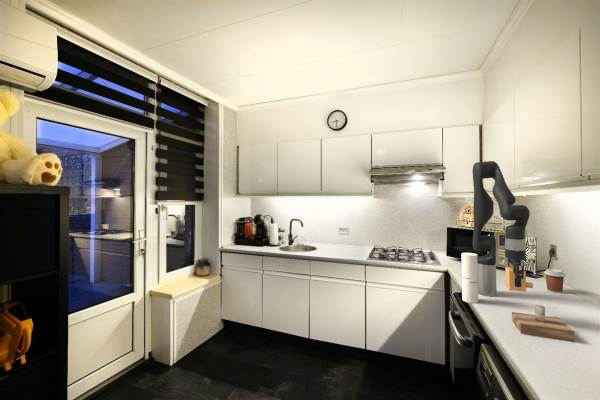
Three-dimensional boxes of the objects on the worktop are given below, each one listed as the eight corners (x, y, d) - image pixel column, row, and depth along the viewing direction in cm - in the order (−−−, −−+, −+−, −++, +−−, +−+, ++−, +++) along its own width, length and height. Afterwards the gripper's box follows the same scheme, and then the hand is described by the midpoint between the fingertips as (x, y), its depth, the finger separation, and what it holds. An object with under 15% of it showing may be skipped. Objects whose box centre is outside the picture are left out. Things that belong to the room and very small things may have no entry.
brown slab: (511, 320, 118) (511, 298, 118) (559, 327, 111) (558, 303, 111) (521, 333, 107) (520, 309, 107) (574, 341, 100) (573, 315, 100)
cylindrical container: (463, 297, 147) (462, 252, 146) (478, 300, 142) (478, 253, 142) (461, 301, 141) (460, 254, 141) (477, 304, 136) (476, 256, 136)
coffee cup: (570, 294, 147) (570, 272, 147) (551, 293, 148) (550, 272, 148) (558, 288, 156) (557, 268, 156) (540, 288, 157) (539, 268, 157)
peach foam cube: (509, 290, 121) (509, 270, 120) (505, 285, 126) (505, 267, 126) (534, 292, 117) (534, 272, 117) (529, 288, 122) (529, 268, 122)
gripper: (500, 244, 130) (501, 278, 130) (509, 251, 117) (510, 288, 117) (519, 245, 127) (520, 280, 127) (531, 252, 114) (531, 290, 114)
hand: (515, 284), depth 122 cm, fingers closed on peach foam cube, 6 cm apart
